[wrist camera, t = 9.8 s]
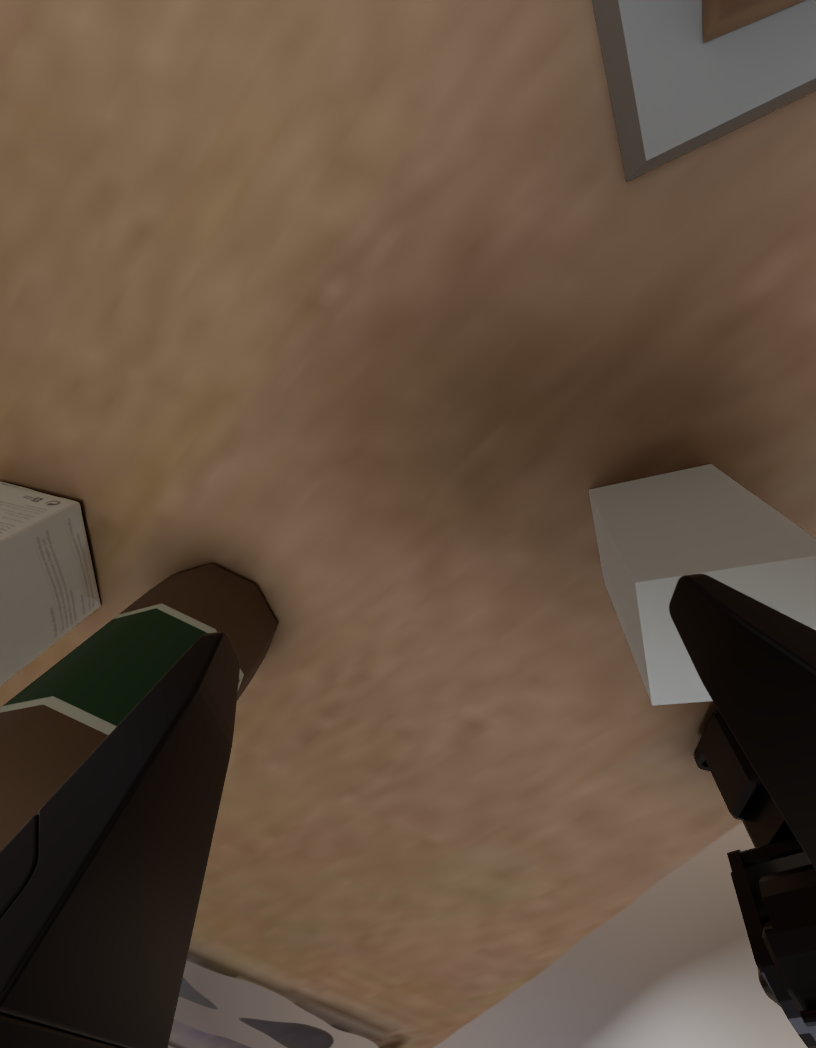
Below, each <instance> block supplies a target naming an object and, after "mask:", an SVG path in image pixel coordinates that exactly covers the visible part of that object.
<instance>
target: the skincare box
mask: <svg viewBox="0 0 816 1048" xmlns="http://www.w3.org/2000/svg"><path fill="white" fill-rule="evenodd" d="M100 606H101V604H100V599H99V594H98V590H97V585H96V580H95V575H94V570H93V566H92V561H91V556H90V551H89V546H88V541H87V536H86V531H85V527H84V522H83V517H82V512H81V506H80V503H79V502H77V501H73V500H70V499H66V498H61V497H56V496H52V495H49V494H45V493H41V492H38V491H35V490H31V489H28V488H24V487H20V486H16V485H12V484H8V483H5V482H0V686H1V685H3V684H4V683H5V682H6V681H8V680H9V679H10V678H11V677H13V676H14V675H15V674H16V673H18V672H19V671H20V670H21V669H23V668H24V667H25V666H26V665H28V664H29V663H30V662H31V661H33V660H34V659H35V658H36V657H38V656H39V655H40V654H41V653H43V652H44V651H45V650H46V649H48V648H49V647H50V646H51V645H53V644H54V643H55V642H56V641H57V640H59V639H60V638H61V637H63V636H64V635H65V634H66V633H68V632H69V631H70V630H71V629H73V628H74V627H75V626H76V625H78V624H79V623H80V622H81V621H83V620H84V619H85V618H86V617H88V616H89V615H90V614H91V613H93V612H94V611H95V610H97V609H98V608H99V607H100Z"/></svg>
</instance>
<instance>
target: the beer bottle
mask: <svg viewBox="0 0 816 1048" xmlns="http://www.w3.org/2000/svg"><path fill="white" fill-rule="evenodd" d="M276 627H277V621H276V619H275V618H274V616H273V614H272V612H271V610H270V609H269V607H268V605H267V603H266V601H265V600H264V598H263V596H262V594H261V593H260V591H259V589H258V587H257V585H256V584H254V583H252V582H250V581H248V580H246V579H244V578H242V577H240V576H238V575H236V574H233V573H231V572H229V571H227V570H225V569H223V568H221V567H219V566H217V565H215V564H209V565H206V566H202V567H199V568H195V569H192V570H188V571H185V572H181V573H178V574H174V575H171V576H170V577H168V578H167V579H165V580H164V581H162V582H161V583H160V584H158V585H157V586H155V587H154V588H152V589H151V590H149V591H148V592H147V593H146V594H144V595H143V596H142V597H141V598H139V599H138V600H137V601H135V602H134V603H133V604H132V605H130V606H129V607H128V608H127V609H125V610H124V611H123V612H121V613H120V614H119V615H118V616H116V617H115V618H114V619H113V620H111V621H110V622H109V623H107V624H106V625H105V626H104V627H102V628H101V629H100V630H99V631H97V632H96V633H95V634H94V635H92V636H91V637H90V638H88V639H87V640H86V641H85V642H83V643H82V644H81V645H80V646H78V647H77V648H76V649H74V650H73V651H72V652H71V653H69V654H68V655H67V656H66V657H64V658H63V659H62V660H60V661H59V662H58V663H57V664H55V665H54V666H53V667H52V668H50V669H49V670H48V671H47V672H45V673H44V674H43V675H41V676H40V677H39V678H38V679H36V680H35V681H34V682H33V683H31V684H30V685H29V686H27V687H26V688H25V689H24V690H22V691H21V692H20V693H19V694H17V695H16V696H15V697H13V698H12V699H11V700H10V701H8V702H7V703H6V704H5V705H3V706H2V707H1V708H0V851H1V850H2V849H3V848H4V847H5V846H6V844H7V843H8V842H9V841H10V840H11V839H12V838H13V837H14V836H15V835H16V834H17V833H18V832H19V831H20V830H21V828H22V827H23V826H24V825H25V824H26V823H27V822H28V821H29V820H30V819H31V818H32V817H33V816H34V815H37V814H38V812H39V810H40V808H41V807H42V806H43V805H44V804H45V803H46V802H47V801H48V800H49V799H50V798H51V796H52V795H53V794H54V793H55V792H56V791H57V790H58V789H59V788H60V787H61V786H62V785H63V784H64V783H65V781H66V780H67V779H68V778H69V777H70V776H71V775H72V774H73V773H74V772H75V771H76V770H77V769H78V767H79V766H80V765H81V764H82V763H83V762H84V761H85V760H86V759H87V758H88V757H89V756H90V755H91V754H92V752H93V751H94V750H95V749H96V748H97V747H98V746H99V745H100V744H101V743H102V742H103V741H104V740H105V738H106V737H107V736H108V735H109V734H110V733H111V732H112V731H113V730H114V729H115V728H116V727H117V726H118V724H119V723H120V722H121V721H122V720H123V719H124V718H125V717H126V716H127V715H128V714H129V713H130V712H131V711H132V709H133V708H134V707H135V706H136V705H137V704H138V703H139V702H140V701H141V700H142V699H143V698H144V697H145V695H146V694H147V693H148V692H149V691H150V690H151V689H152V688H153V687H154V686H155V685H156V684H157V683H158V682H159V680H160V679H161V678H162V677H163V676H164V675H165V674H166V673H167V672H168V671H169V670H170V669H171V668H172V666H173V665H174V664H175V663H176V662H177V661H178V660H179V659H180V658H181V657H182V656H183V655H184V654H185V652H186V651H187V650H188V649H189V648H190V647H191V646H192V645H193V644H194V643H195V642H196V641H197V640H198V639H199V638H200V637H201V636H202V635H204V634H207V633H215V632H225V633H226V634H227V635H228V636H229V639H230V641H231V643H232V645H233V647H234V649H235V651H236V654H237V656H238V658H239V663H240V672H239V682H238V692H237V700H238V699H239V697H240V696H241V694H242V693H243V691H244V690H245V688H246V687H247V685H248V684H249V682H250V681H251V679H252V678H253V676H254V675H255V673H256V671H257V669H258V668H259V666H260V664H261V663H262V661H263V659H264V658H265V655H266V652H267V650H268V647H269V645H270V642H271V640H272V637H273V634H274V632H275V629H276Z"/></svg>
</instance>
